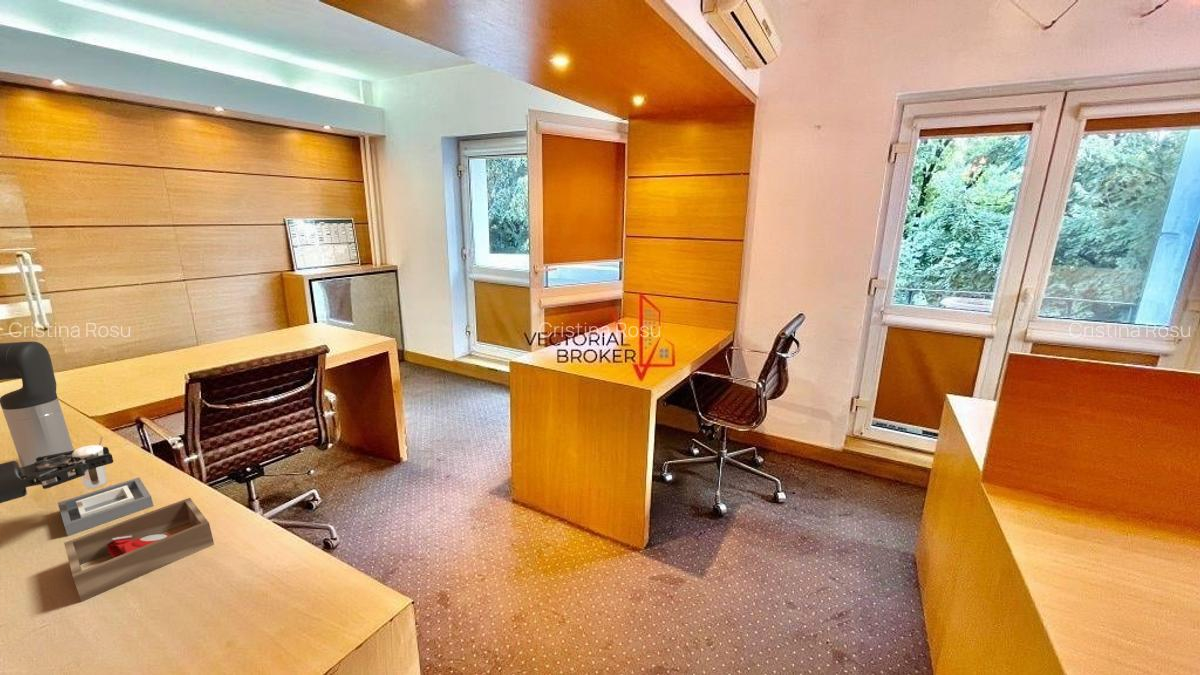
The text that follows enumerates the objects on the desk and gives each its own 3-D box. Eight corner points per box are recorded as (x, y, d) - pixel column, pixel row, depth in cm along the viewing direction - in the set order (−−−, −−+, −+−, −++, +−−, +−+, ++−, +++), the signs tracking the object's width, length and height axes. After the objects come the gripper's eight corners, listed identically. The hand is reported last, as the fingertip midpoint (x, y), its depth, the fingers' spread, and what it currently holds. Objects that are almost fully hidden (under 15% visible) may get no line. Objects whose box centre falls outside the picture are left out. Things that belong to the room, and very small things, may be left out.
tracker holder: (189, 527, 95) (168, 545, 86) (185, 549, 94) (164, 570, 85) (110, 530, 89) (79, 550, 80) (106, 553, 89) (75, 576, 80)
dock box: (60, 512, 101) (57, 502, 101) (141, 486, 111) (139, 477, 111) (67, 536, 94) (64, 525, 93) (153, 505, 104) (150, 496, 103)
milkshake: (121, 478, 103) (111, 437, 101) (93, 491, 98) (81, 448, 96) (103, 477, 103) (92, 436, 101) (74, 490, 98) (62, 447, 96)
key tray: (71, 565, 86) (63, 542, 84) (194, 517, 100) (189, 497, 98) (81, 601, 78) (73, 577, 76) (214, 544, 91) (209, 522, 90)
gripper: (-23, 482, 83) (112, 448, 96) (-23, 459, 91) (101, 430, 105) (-10, 518, 85) (120, 479, 98) (-11, 492, 93) (109, 459, 106)
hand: (109, 454), depth 101 cm, fingers closed on milkshake, 4 cm apart
